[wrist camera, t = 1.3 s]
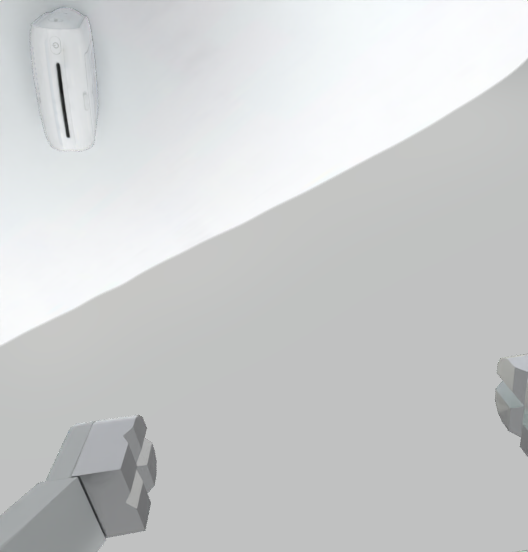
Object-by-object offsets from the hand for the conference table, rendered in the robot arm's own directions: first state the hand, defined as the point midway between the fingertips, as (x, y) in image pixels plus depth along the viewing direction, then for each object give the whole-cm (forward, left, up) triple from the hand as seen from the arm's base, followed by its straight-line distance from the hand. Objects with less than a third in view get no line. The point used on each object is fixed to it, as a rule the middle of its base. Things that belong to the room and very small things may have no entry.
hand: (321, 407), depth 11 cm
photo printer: (+1, -9, -46) cm, 47 cm away
